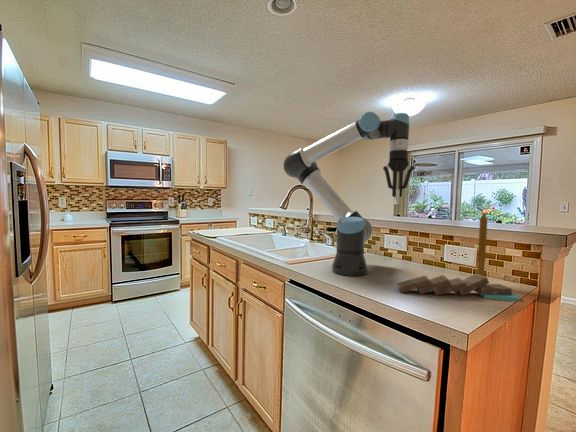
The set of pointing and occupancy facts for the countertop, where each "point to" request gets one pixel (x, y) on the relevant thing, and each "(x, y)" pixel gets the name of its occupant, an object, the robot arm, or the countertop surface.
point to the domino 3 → (451, 287)
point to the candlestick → (482, 244)
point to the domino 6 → (501, 297)
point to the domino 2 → (435, 284)
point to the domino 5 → (494, 289)
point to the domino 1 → (413, 284)
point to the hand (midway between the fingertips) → (396, 204)
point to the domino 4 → (473, 284)
